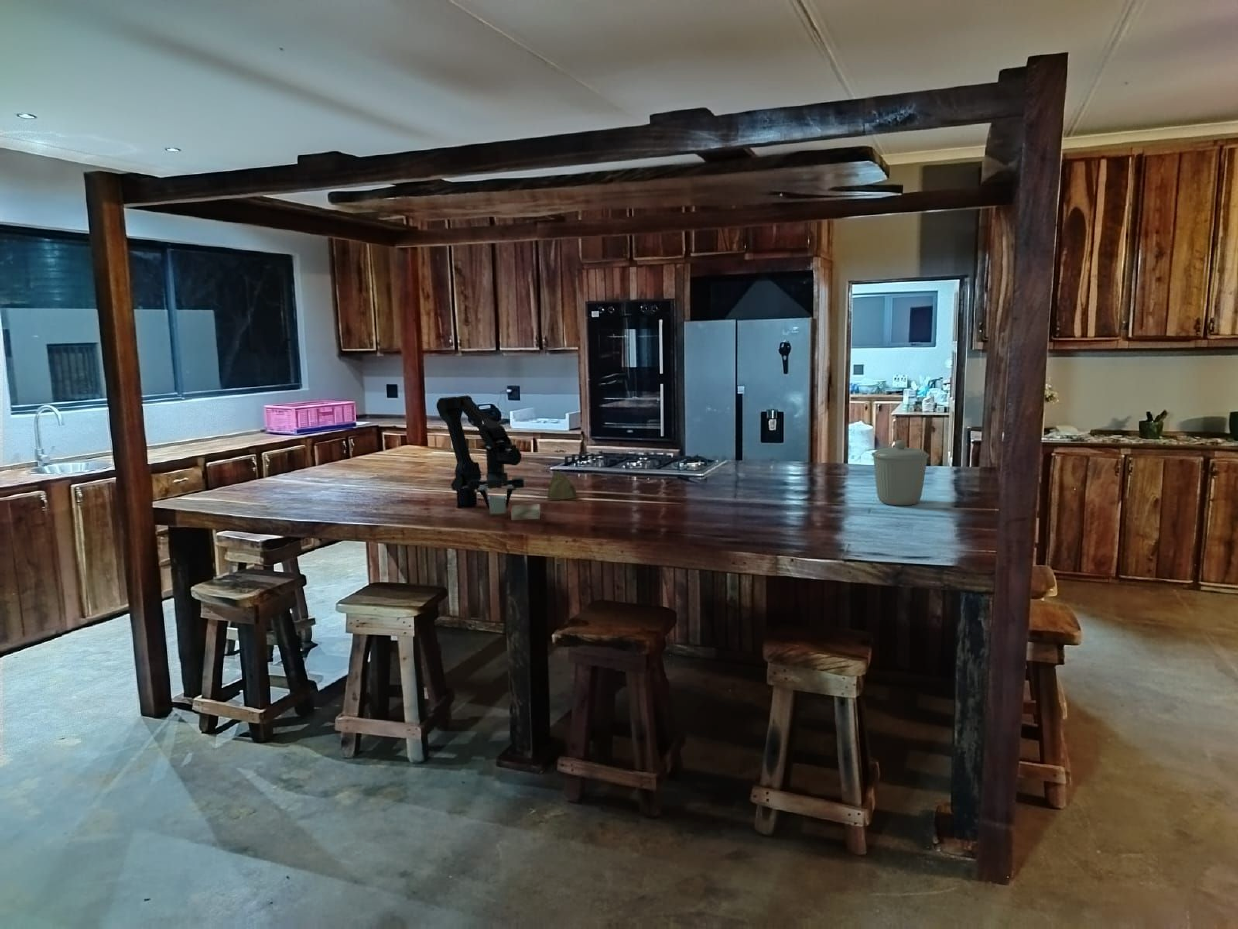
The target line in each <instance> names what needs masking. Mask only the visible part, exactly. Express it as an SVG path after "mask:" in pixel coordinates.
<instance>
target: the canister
mask: <svg viewBox="0 0 1238 929" xmlns="http://www.w3.org/2000/svg"><path fill="white" fill-rule="evenodd" d="M870 455H871V456H872V457H873V467H874V469H873V470H874V477H875V488H876V494H877V498H878V500H879V501H880V502H881V503H883V504H884V505H885V504H886V505H891V506H901V507H902V506H912V505H915V504H918V503H919V501H920V500H921V497H922V495H923V489H924V483H925V478H926V477H925V476H926V469H927V462H928V458H929V457H930V454H929V453H927V452H926V451H925V450H923V449H921V448H914V447H907V443H906V441H905V440H904V439H903V440H902V439H897V440H896V441H895V442H894V447H893V446H892V447H884V448H882V447H881V448H879V449H876V450H875V451H874V452H871V454H870Z"/></svg>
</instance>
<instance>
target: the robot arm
mask: <svg viewBox="0 0 1238 929" xmlns="http://www.w3.org/2000/svg"><path fill="white" fill-rule="evenodd" d="M435 406H436V409H437V410H436V411H437V412H438V415H439V417H440V418H441V419H442V420H443V421H444V423H446V426H447V430H448V434H449V438H450V441H451V444H452V448H453V452H454V457H455V459H456V466H455V469H454V476H455V477H454V479H453V480H452V482H451V484H450V486H451V490H452V491H454V492H456V508H457V509H458V508H461V509H462V508H475V507H476V506H478V503H479V501H478V493H480V494H481V496H482V498H483V500H484V503H485V505H486V507H487V509H488V510H490V505H489V499H490V497H489V493H488V492H489V491H488V489H501V488H503V487H504V486H505V487H506V486H507V488H506V497H505V500H506V509H508V508H509V503H510V500H511V496H512V493H513V492H514V491H516V490H517V489H520V488H522V489H523V488H525V485H526V484H525V482H526V481H525V478H524V477H523V476H515V477H512V478H511V479H508V478H509V476H508V472H505V465H508V466H517V465H519V464H520V463H521V460H522V452H521V451H520V450H519V449H518V448H517V445H516V444H513V443H512V440H511V438H510V437H509V435H508V434H507V432H506V429H505V427H504V426H503V425H501V424H500V423H499V422H497V421H495V420H492V419H491V418H489V417H488V416H487V415H486V414H485V413H484V411H482V409H481V408H480V406H478V405H477V404H476V403H475V402H474V400H473V399H472V397H471V396H470V395H458V396H446V397H440V398H438V400H437V402H436V405H435ZM463 414H465V415H466V417H467V418H468V419H469V420H470V421H471V422H472V423H473V424H474V426H476V428H477V429H478V435H479V437H480V438H481V439H482V441H483V442H484V445H483V446H481V450H485V457H486V480H482V471H481V467H480V463H479V462H478V461H474V460H473V459H472V458H471V454H470V450H469V449H470V448H469V446H468V442H467V439H466V436H465V431H464V428H463V423H462V420H461V419H462V415H463Z"/></svg>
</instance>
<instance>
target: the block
mask: <svg viewBox="0 0 1238 929" xmlns="http://www.w3.org/2000/svg"><path fill="white" fill-rule="evenodd" d="M506 512H507V508H506V496H505V495H501V496H499V495H498V496H497V495H496V496H490V497H489V514H490V515H496V514H499V515H500V514H505V513H506Z"/></svg>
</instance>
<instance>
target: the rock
mask: <svg viewBox="0 0 1238 929" xmlns="http://www.w3.org/2000/svg"><path fill="white" fill-rule="evenodd" d="M548 487H549V488H548V491H547V498H546V501H560V500H570V499H577V498H579V496H578V495H579V494H578V493H577V490H576V487H575V486H574V485H573V483H572V482H571V481H570V480H569V478H568V477H567V476H566V475H564V474H563V473H561V472H560V471H554V472H553V474H552V477H551V480H550V484H549V486H548Z"/></svg>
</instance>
